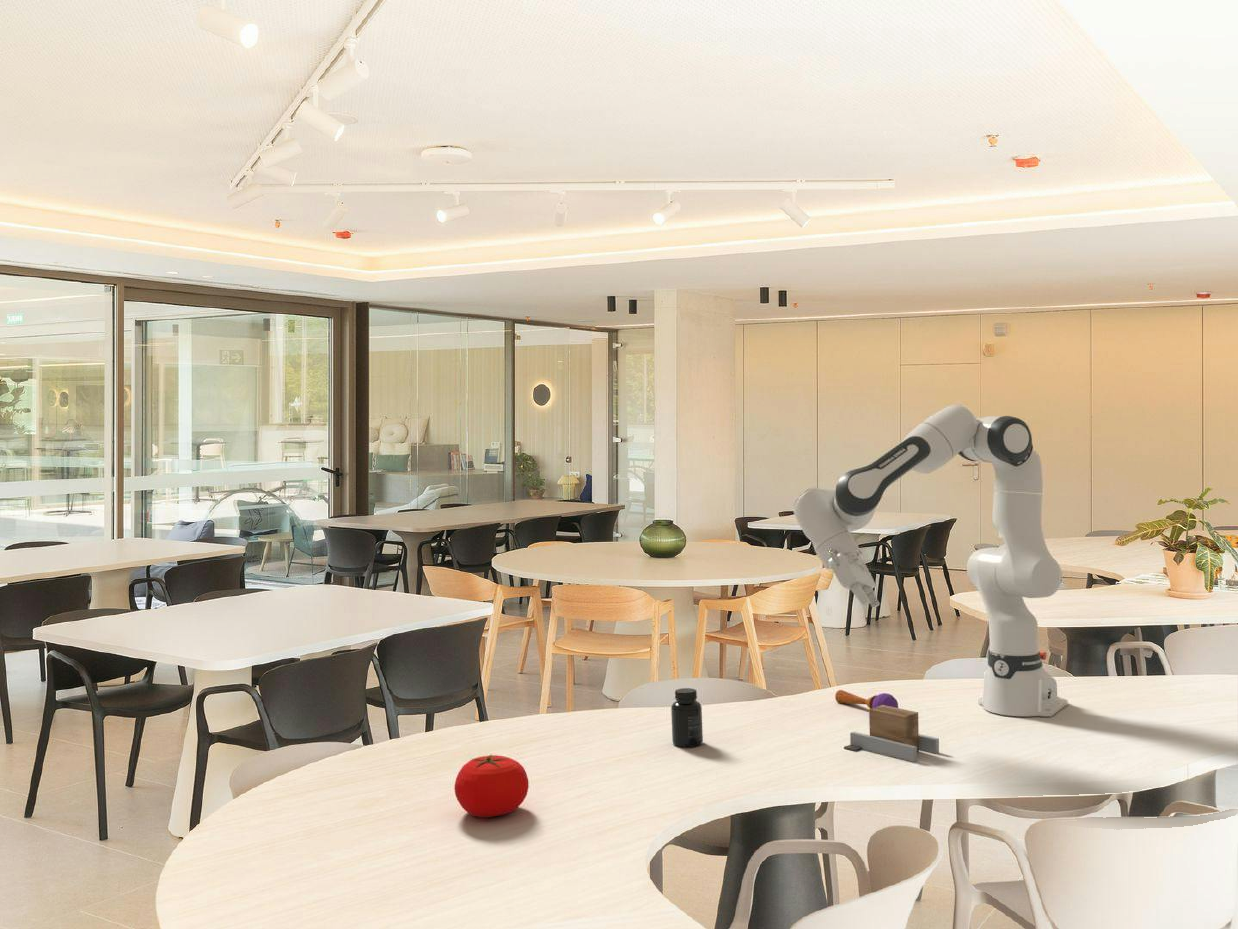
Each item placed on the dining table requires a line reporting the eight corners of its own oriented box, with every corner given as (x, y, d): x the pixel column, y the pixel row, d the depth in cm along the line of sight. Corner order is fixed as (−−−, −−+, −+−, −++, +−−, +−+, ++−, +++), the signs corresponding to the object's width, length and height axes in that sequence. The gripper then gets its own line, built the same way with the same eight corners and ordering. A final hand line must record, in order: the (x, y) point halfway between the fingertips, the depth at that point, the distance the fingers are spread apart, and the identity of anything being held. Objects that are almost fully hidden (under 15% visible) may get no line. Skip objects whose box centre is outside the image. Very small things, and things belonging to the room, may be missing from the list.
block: (883, 743, 239) (882, 705, 238) (918, 751, 232) (918, 712, 231) (869, 748, 235) (869, 709, 235) (905, 756, 228) (904, 717, 228)
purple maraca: (850, 685, 276) (904, 695, 258) (848, 709, 275) (902, 721, 257) (832, 683, 273) (884, 694, 255) (830, 707, 272) (882, 720, 255)
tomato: (495, 795, 210) (494, 742, 210) (543, 809, 202) (542, 753, 202) (439, 817, 199) (437, 761, 199) (488, 832, 191) (486, 774, 191)
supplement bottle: (703, 739, 244) (702, 686, 244) (702, 748, 238) (701, 694, 237) (672, 739, 245) (671, 686, 245) (671, 748, 238) (670, 694, 238)
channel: (882, 735, 244) (882, 722, 244) (944, 750, 232) (944, 736, 232) (844, 748, 235) (843, 735, 235) (907, 764, 223) (907, 750, 223)
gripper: (839, 540, 237) (873, 594, 232) (861, 550, 255) (893, 600, 250) (815, 555, 239) (848, 609, 233) (838, 564, 257) (869, 615, 251)
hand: (871, 605), depth 242 cm, fingers open, 8 cm apart
